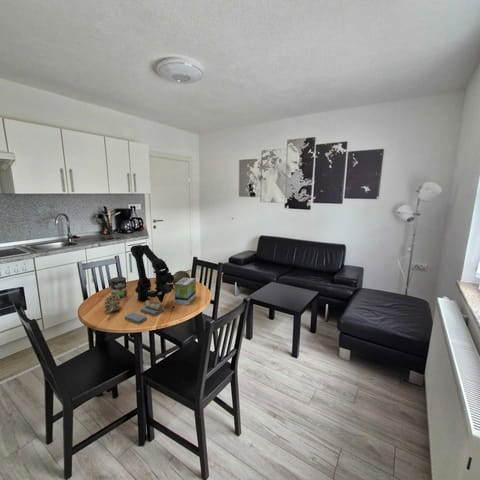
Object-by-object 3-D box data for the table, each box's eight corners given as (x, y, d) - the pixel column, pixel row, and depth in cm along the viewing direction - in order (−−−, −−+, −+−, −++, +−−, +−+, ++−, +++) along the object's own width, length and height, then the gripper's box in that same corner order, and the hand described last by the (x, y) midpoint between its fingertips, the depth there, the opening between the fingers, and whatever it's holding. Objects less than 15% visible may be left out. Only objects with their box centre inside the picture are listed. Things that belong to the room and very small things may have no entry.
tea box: (188, 305, 172) (187, 284, 170) (174, 304, 174) (173, 283, 172) (196, 297, 187) (195, 277, 184) (183, 295, 189) (183, 276, 186)
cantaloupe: (171, 287, 205) (170, 269, 202) (188, 285, 211) (187, 267, 208) (174, 293, 192) (173, 274, 190) (192, 291, 198) (192, 272, 196)
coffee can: (128, 298, 183) (127, 279, 181) (113, 301, 177) (111, 282, 175) (125, 293, 191) (124, 275, 189) (110, 296, 185) (108, 278, 183)
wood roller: (149, 305, 167) (149, 299, 167) (161, 308, 162) (161, 302, 161) (144, 307, 164) (144, 301, 163) (156, 311, 159) (156, 305, 158)
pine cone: (106, 306, 169) (105, 292, 168) (121, 304, 173) (120, 290, 171) (101, 321, 149) (100, 305, 147) (119, 319, 152) (118, 303, 151)
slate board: (150, 306, 169) (150, 304, 169) (164, 310, 164) (163, 308, 163) (124, 319, 152) (124, 316, 152) (138, 324, 146) (138, 321, 146)
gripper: (158, 286, 155) (159, 310, 157) (179, 278, 171) (180, 300, 174) (145, 283, 160) (147, 306, 163) (167, 275, 176) (168, 296, 179)
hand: (161, 302), depth 169 cm, fingers closed
